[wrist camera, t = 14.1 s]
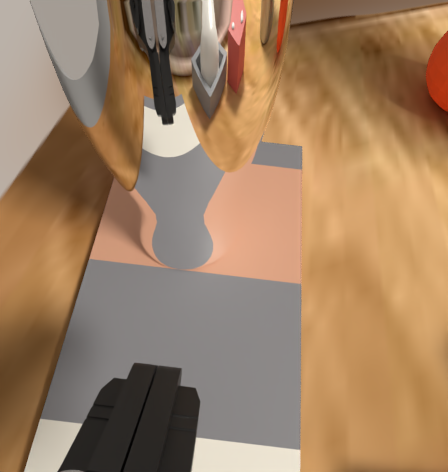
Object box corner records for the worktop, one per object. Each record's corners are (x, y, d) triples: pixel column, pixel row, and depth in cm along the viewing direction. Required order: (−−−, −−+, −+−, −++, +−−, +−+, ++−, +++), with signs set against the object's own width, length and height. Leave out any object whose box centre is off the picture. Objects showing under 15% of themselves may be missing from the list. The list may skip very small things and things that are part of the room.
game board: (300, 150, 24) (302, 146, 24) (294, 792, 12) (297, 804, 11) (130, 130, 24) (129, 126, 24) (-56, 748, 12) (-65, 760, 11)
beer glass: (246, 179, 22) (307, -162, 9) (244, 281, 19) (335, -7, 6) (138, 172, 22) (37, -185, 9) (119, 274, 19) (-82, -39, 6)
